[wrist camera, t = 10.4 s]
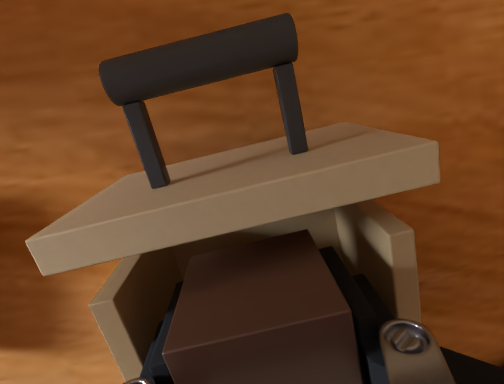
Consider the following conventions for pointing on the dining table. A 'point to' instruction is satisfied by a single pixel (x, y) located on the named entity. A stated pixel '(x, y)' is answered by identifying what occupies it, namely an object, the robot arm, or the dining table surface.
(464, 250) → the dining table surface
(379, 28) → the dining table surface
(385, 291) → the drawer
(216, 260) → the block
